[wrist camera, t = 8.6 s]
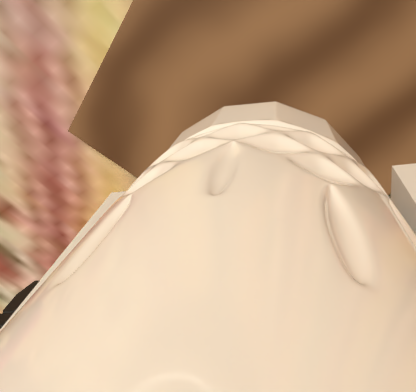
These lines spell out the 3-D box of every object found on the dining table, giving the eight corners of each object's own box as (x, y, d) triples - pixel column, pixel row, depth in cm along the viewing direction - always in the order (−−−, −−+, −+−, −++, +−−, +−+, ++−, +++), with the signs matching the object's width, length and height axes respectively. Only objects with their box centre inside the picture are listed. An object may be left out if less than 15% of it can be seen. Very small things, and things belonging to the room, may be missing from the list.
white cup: (402, 269, 13) (643, 818, 4) (194, 304, 16) (86, 706, 7) (358, 37, 10) (875, 369, 1) (104, 126, 12) (-300, 451, 4)
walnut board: (525, 61, 21) (537, 64, 20) (290, 270, 31) (290, 280, 30) (238, -195, 18) (236, -206, 17) (75, 125, 28) (67, 131, 27)
